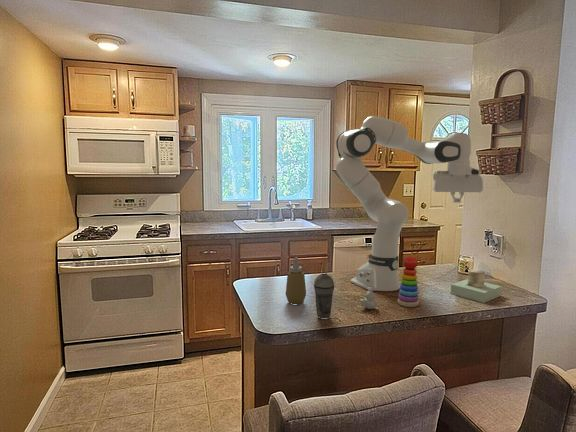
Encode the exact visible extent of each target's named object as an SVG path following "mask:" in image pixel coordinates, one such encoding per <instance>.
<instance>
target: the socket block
mask: <svg viewBox="0 0 576 432" xmlns="http://www.w3.org/2000/svg"><path fill="white" fill-rule="evenodd" d="M450 294H451V295H455V296H458V297H461V298H465V299H468V300H471V301H476V302H480V303H484V304H485V303H487V302H489V301H492V300H495V299H496V298H499V297H501V294H502V286H501V285H497V284H493V283H490V282H489V283H488V282H485V281H484V287H482V288H480V289H479V288H475V287H471V286H468V278H466V279H463V280H460V281H457V282H454V283H451V284H450Z"/></svg>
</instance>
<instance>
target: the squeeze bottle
mask: <svg viewBox="0 0 576 432" xmlns="http://www.w3.org/2000/svg"><path fill="white" fill-rule="evenodd" d="M305 277H306V276H305V272H303V267H302V266H301V265H300V264H299V258H298V257H294V259H293V264H292V265H290V267H289V271H288V272H287V276H286V287H285V297H286V300H287V303H288V302H289V303H292V304H301V305H303V304H304V302H305V299H306V297H307V290H306V289H307V288H306V287H307V286H306V278H305ZM289 303H288V304H289ZM302 303H303V304H302Z"/></svg>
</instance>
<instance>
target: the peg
mask: <svg viewBox="0 0 576 432" xmlns="http://www.w3.org/2000/svg"><path fill="white" fill-rule="evenodd" d="M485 274H486V271H483V270H479V269H471V270H468V274H467V275H468V276H467V279H468V286H471V287H475V288H479V289H480V288H482V287H484V282H485V279H486V278H485V277H486V275H485Z"/></svg>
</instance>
